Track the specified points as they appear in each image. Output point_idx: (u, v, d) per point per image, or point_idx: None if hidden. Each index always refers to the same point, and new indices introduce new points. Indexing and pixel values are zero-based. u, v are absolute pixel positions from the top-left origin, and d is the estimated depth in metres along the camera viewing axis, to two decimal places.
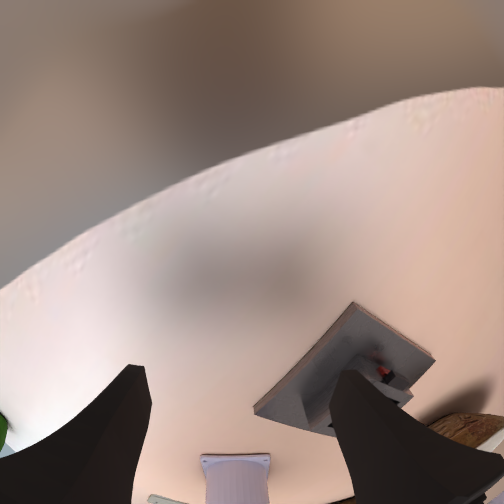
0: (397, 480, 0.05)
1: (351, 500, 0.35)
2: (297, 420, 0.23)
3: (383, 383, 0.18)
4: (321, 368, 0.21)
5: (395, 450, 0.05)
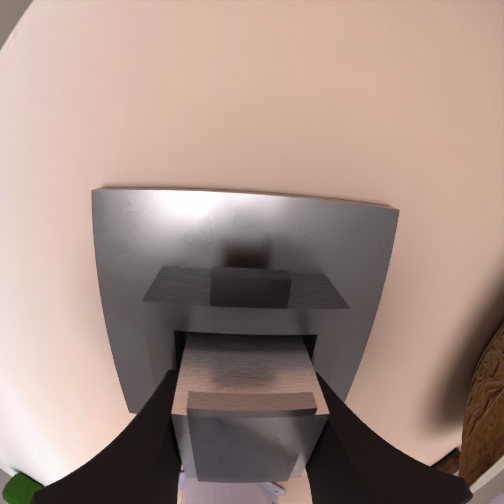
0: (345, 495, 0.05)
1: (443, 463, 0.23)
2: None
3: (196, 304, 0.09)
4: (129, 315, 0.12)
5: (343, 463, 0.05)
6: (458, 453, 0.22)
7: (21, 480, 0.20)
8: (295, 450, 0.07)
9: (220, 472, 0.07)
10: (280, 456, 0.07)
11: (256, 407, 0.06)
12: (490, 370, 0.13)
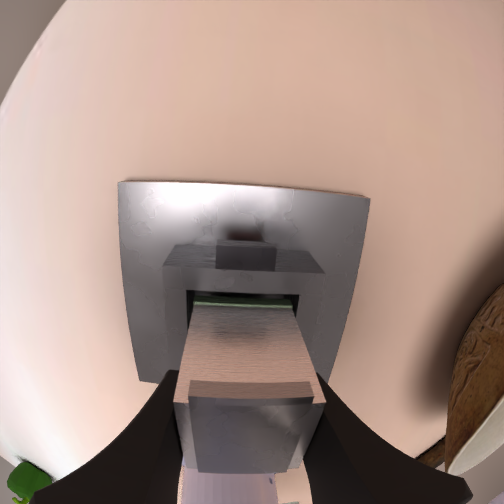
0: (345, 495, 0.05)
1: (435, 448, 0.26)
2: None
3: (204, 267, 0.11)
4: (146, 287, 0.15)
5: (344, 463, 0.05)
6: None
7: (26, 468, 0.23)
8: (293, 440, 0.07)
9: (220, 462, 0.07)
10: (279, 446, 0.07)
11: (255, 396, 0.06)
12: (469, 347, 0.16)
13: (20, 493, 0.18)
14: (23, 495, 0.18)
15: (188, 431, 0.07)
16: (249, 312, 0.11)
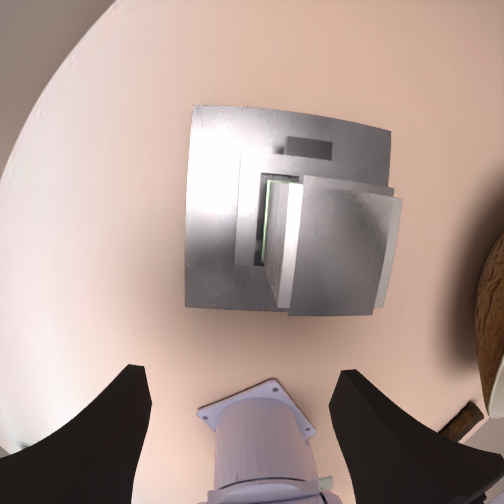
0: (397, 480, 0.05)
1: (459, 417, 0.26)
2: (249, 296, 0.19)
3: (277, 154, 0.14)
4: (209, 196, 0.17)
5: (395, 451, 0.05)
6: (472, 405, 0.25)
7: None
8: (381, 249, 0.09)
9: (315, 289, 0.09)
10: (370, 258, 0.09)
11: None
12: (488, 276, 0.17)
13: None
14: None
15: (295, 228, 0.09)
16: None
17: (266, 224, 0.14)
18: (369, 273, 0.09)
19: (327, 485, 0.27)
